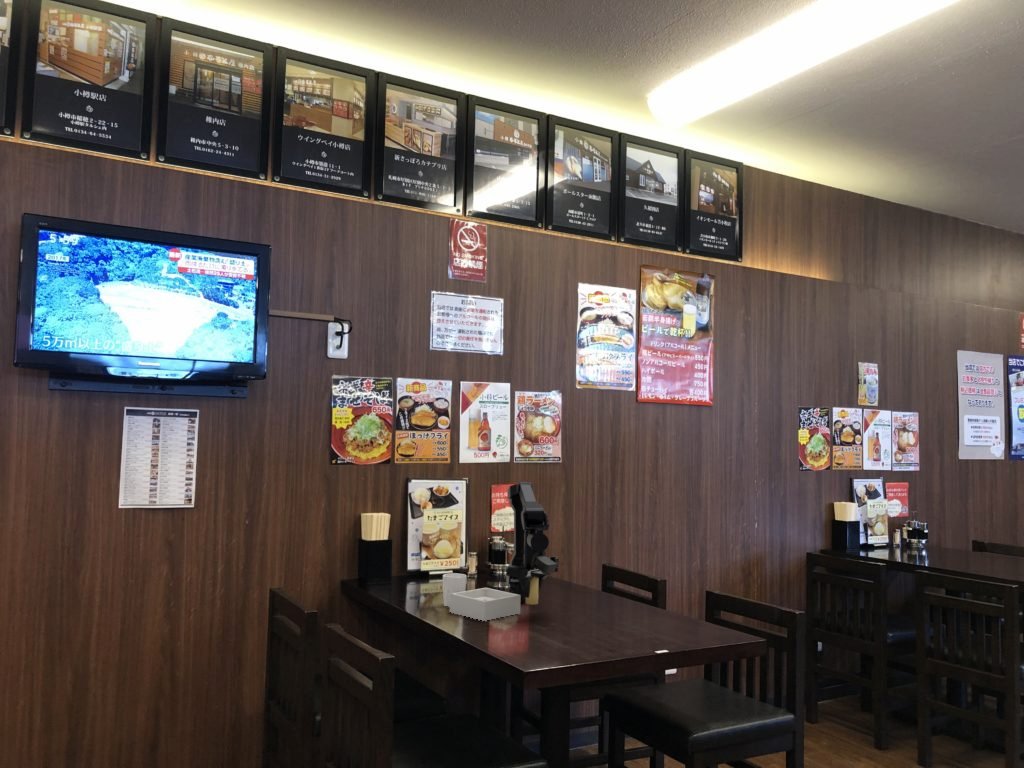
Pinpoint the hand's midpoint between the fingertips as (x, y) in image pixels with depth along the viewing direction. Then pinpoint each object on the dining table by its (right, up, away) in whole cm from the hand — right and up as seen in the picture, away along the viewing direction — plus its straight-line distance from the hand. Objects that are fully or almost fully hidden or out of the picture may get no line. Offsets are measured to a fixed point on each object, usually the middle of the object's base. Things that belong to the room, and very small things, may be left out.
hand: (531, 596), depth 256 cm
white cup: (-26, -7, +12) cm, 29 cm away
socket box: (-15, -6, +2) cm, 16 cm away
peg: (0, -2, 0) cm, 2 cm away
